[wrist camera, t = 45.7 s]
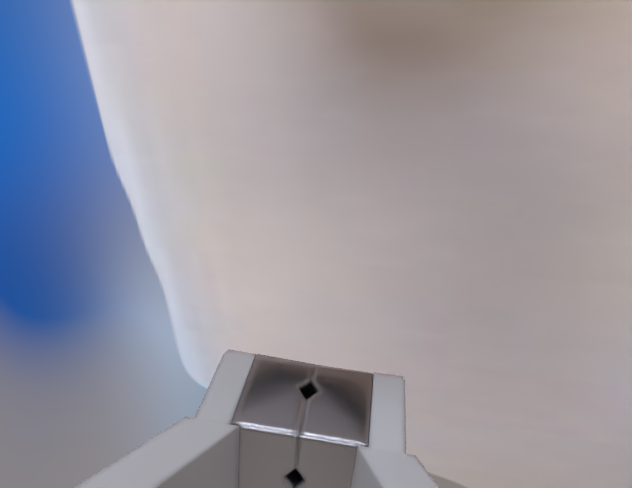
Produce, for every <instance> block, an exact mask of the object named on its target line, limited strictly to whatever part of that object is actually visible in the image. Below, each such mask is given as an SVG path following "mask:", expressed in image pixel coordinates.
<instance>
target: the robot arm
mask: <svg viewBox="0 0 632 488" xmlns="http://www.w3.org/2000/svg"><path fill="white" fill-rule="evenodd" d="M74 488H439V487H438V485H437V484H436V483H435V481H434V480H433V479H432V477H431V476H430V474H429V473H428V472H427V470H426V469H425V468H424V466H423V465H422V464H421V462H420V461H419V460H418V458H417V457H416V456H415V455H410V454H406V416H405V380H404V378H403V376H395V375H388V374H380V373H373V374H372V373H368V372H362V371H355V370H348V369H342V368H335V367H328V366H322V365H315V364H310V363H304V362H299V361H293V360H288V359H282V358H276V357H271V356H265V355H260V354H258V355H256V354H252V353H246V352H240V351H235V350H228V351H227V352H226V353H225V354H224V355H223V357H222V359H221V361H220V363H219V365H218V367H217V370H216V372H215V374H214V376H213V378H212V381H211V383H210V385H209V387H208V389H207V392H206V394H205V396H204V398H203V401H202V403H201V405H200V407H199V409H198V411H197V414H196V416H195V418H189V417H184V418H183V419H181V420H180V421H178V422H177V423H175V424H173V425H172V426H170V427H169V428H167V429H166V430H164V431H163V432H161V433H159V434H158V435H156V436H154V437H153V438H151V439H150V440H148V441H146V442H145V443H143V444H142V445H140V446H138V447H137V448H135V449H134V450H132V451H131V452H129V453H127V454H126V455H125V456H123V457H121V458H120V459H118V460H116V461H115V462H113V463H112V464H110V465H108V466H107V467H105V468H104V469H102V470H100V471H99V472H97V473H96V474H94V475H93V476H91V477H89V478H88V479H86V480H85V481H83V482H81V483H80V484H78V485H77V486H75V487H74Z"/></svg>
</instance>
